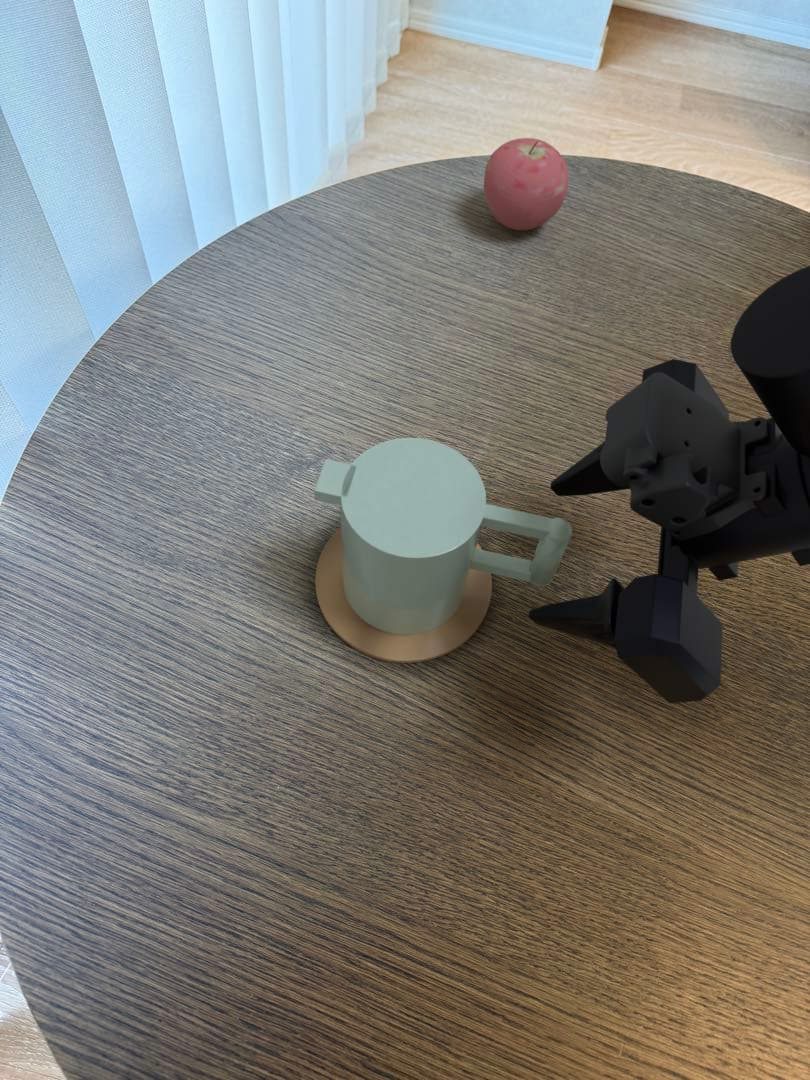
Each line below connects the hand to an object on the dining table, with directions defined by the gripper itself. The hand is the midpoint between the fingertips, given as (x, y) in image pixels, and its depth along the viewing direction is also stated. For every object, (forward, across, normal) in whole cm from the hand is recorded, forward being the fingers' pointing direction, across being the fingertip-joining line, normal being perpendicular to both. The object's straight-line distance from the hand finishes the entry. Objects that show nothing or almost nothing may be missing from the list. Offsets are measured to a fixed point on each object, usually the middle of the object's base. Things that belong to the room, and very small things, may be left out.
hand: (543, 550), depth 49 cm
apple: (+10, -40, +1) cm, 41 cm away
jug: (+9, 0, +1) cm, 10 cm away
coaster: (+11, 0, 0) cm, 11 cm away
